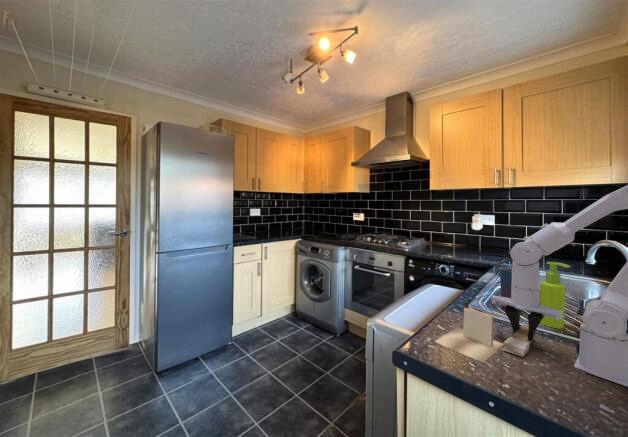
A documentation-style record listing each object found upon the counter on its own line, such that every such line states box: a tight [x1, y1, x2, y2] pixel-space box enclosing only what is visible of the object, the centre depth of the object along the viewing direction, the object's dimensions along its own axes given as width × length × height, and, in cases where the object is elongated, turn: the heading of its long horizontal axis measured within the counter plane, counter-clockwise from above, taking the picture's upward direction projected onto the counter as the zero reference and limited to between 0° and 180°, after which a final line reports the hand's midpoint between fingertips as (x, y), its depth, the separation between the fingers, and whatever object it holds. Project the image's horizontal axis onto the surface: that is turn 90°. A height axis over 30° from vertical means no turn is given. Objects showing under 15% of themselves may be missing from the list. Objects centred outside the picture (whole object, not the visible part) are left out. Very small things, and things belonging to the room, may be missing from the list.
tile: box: [462, 307, 495, 347], centre depth 70 cm, size 7×1×8 cm, turn 37°
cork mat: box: [433, 326, 504, 364], centre depth 69 cm, size 12×14×1 cm
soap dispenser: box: [539, 261, 572, 330], centre depth 80 cm, size 6×7×20 cm
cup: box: [499, 267, 513, 312], centre depth 92 cm, size 7×7×15 cm
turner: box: [502, 324, 536, 358], centre depth 68 cm, size 4×14×3 cm, turn 127°
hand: (523, 337), depth 68 cm, fingers closed on turner, 2 cm apart
